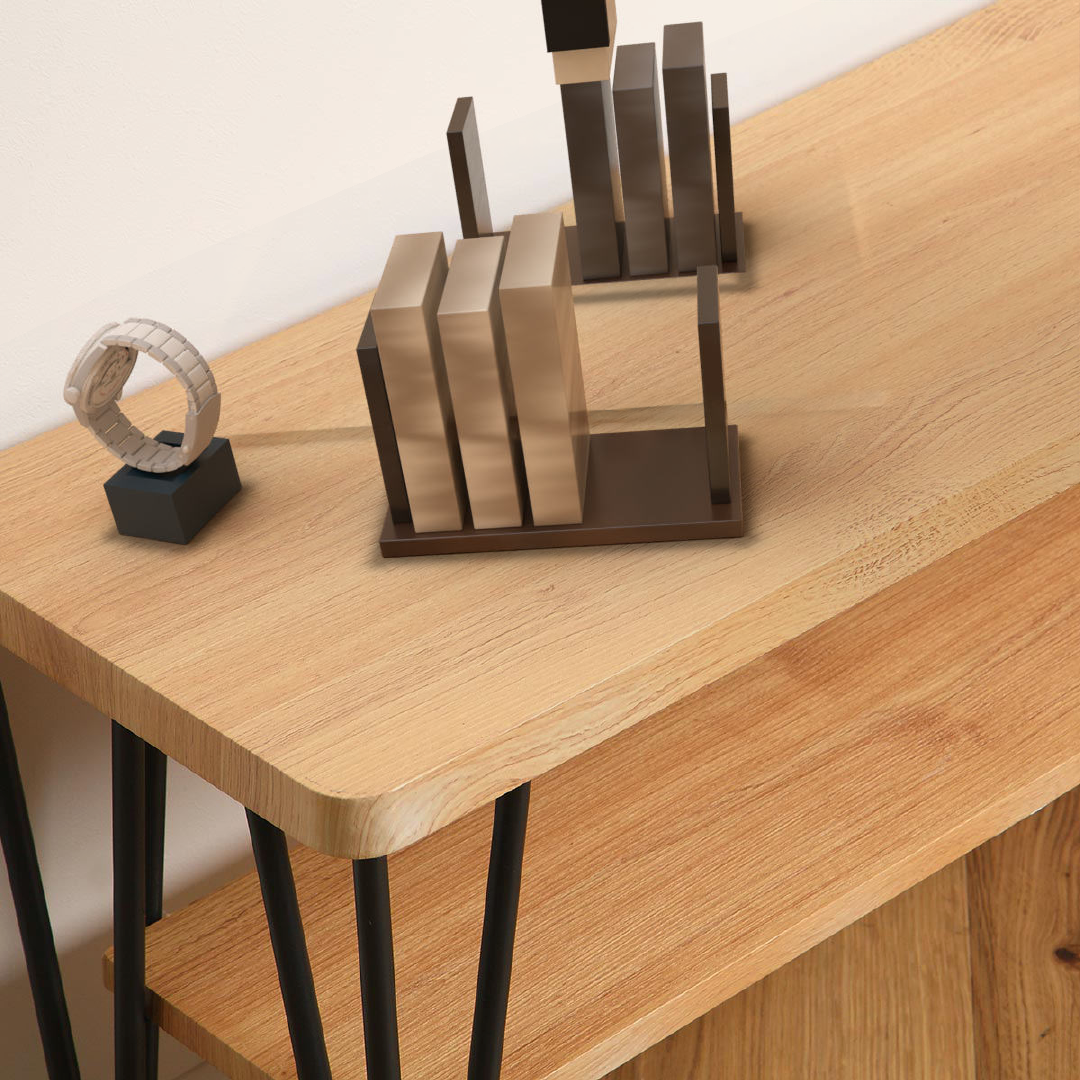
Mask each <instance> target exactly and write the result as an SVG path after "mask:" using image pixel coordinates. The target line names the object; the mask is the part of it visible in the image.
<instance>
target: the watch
mask: <svg viewBox="0 0 1080 1080" xmlns="http://www.w3.org/2000/svg"><path fill="white" fill-rule="evenodd" d="M139 352H142V353H143V354H147V355H148V356H149V357H151V358H152V359H153V360H155V361H157V362H158V363H160V364H162V365H163V367H164V368H166V369H167V370H168V371H169V372H170V373H171V374H172V375H175V378H176V379H177V381H178V383H179V384H180V385H181V387H182V388H183V389H185V391H184V392H185V394H186V400H187V401H186V402H187V408H188V412H186V414H185V425H184V432H181V431H173V430H164V429H162V430H161V431H160V432H159V433H157V434H156V435H155V436H154V438H152V437H150V436H148V435H145V433H144V432H142V431H141V430H140V429H139V428H138V427H136V425H132V422H131V421H130V419H128V417H127V416H126V415H125V414H124V413H123V412H121V411H122V410H121V408H120V406H119V405H118V402H119V401H120V400H121V399H122V396H123V392H124V391H123V390H124V387H125V385H126V383H128V380H129V378H130V377H131V375H132V373H133V371H134V369H135V366H136V363H137V360H138V356H139ZM63 385H64V386H63V391H62V397H63V400H64V402H65V403H66V404H68V405H69V406H71V407H72V410H73V412H74V414H75V417H76V418H77V421H78V423H79V424H80V425H81V426H82V427H83V428H85V429H87V430H88V431H89V432H90V434H91V435H93V438H94V439H95V440H96V441H97V443H98V444H99V445H101V446H102V447H103V448H104V449H106V451H107V452H108V453H109V454H111V455H112V456H113V457H114V458H116V459H118V460H120V461H121V462H122V463H124V465H123V466H121V468H119V469H118V470H117V471H116V472H115V473H114V474H113V475H111V476H110V477H109V478H108V479H107V480H106V481H105V482H104V483H103V484H102V486H103V489H104V493H105V495H106V499H107V501H108V505H109V507H110V510H111V511H110V512H111V513H112V516H113V520H114V522H115V525H116V528H117V532H118V534H119V535H123V536H131V537H138V538H143V539H149V540H156V541H161V542H167V543H175V544H179V545H187V544H188V543H190V542H191V541H192V540H193V539H194V538H195V536H197V534H198V533H199V532H200V531H201V530H203V528H205V526H207V524H208V523H209V522H210V521H211V520H212V519H213V518H214V517H215V516H216V515H217V514H218V513H219V512H220V511H221V510H222V509H223V508H224V507H225V506H226V505H227V504H228V503H229V502H230V501H231V500H232V499H233V498H234V497H235V495H237V494H238V492H239V491H241V489H242V488H243V485H242V482H241V478H240V475H239V471H238V467H237V463H236V459H235V456H234V452H233V449H232V445H231V441H230V439H229V438H228V437H227V438H226V437H220V436H215V434H216V432H217V431H216V430H217V428H218V425H219V422H220V417H221V407H222V406H221V405H222V393H221V392H220V391H219V392H218V385H217V383H216V378H215V375H214V373H213V372H212V369H211V368H210V365H209V364H208V362H207V361H206V359H205V358H204V355H202V354H200V352H199V350H198V349H197V348H196V346H194V344H192V343H191V341H189V340H188V339H187V338H186V337H185V336H184V335H183V334H182V333H180V332H178V331H177V330H176V329H173V328H172V327H170V326H169V325H166V324H165V323H163V322H161V321H156V320H154V319H151V318H145V317H144V318H140V317H128V318H127V319H126V320H125V321H123V322H122V323H119V322H118V321H112V322H109V323H107V324H105V325H104V326H102V327H101V328H99V329H98V330H97V331H96V332H95V333H94V334H93V335H92V336H91V337H90V338H89V339H88V340H87V341H86V342H85V344H84V345H83V347H82V348H81V349H80V351H79V352H78V354H77V355H76V357H75V359H74V361H73V363H72V364H71V366H70V368H69V371H68V373H67V376H66V379H65V381H64V384H63Z"/></svg>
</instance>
